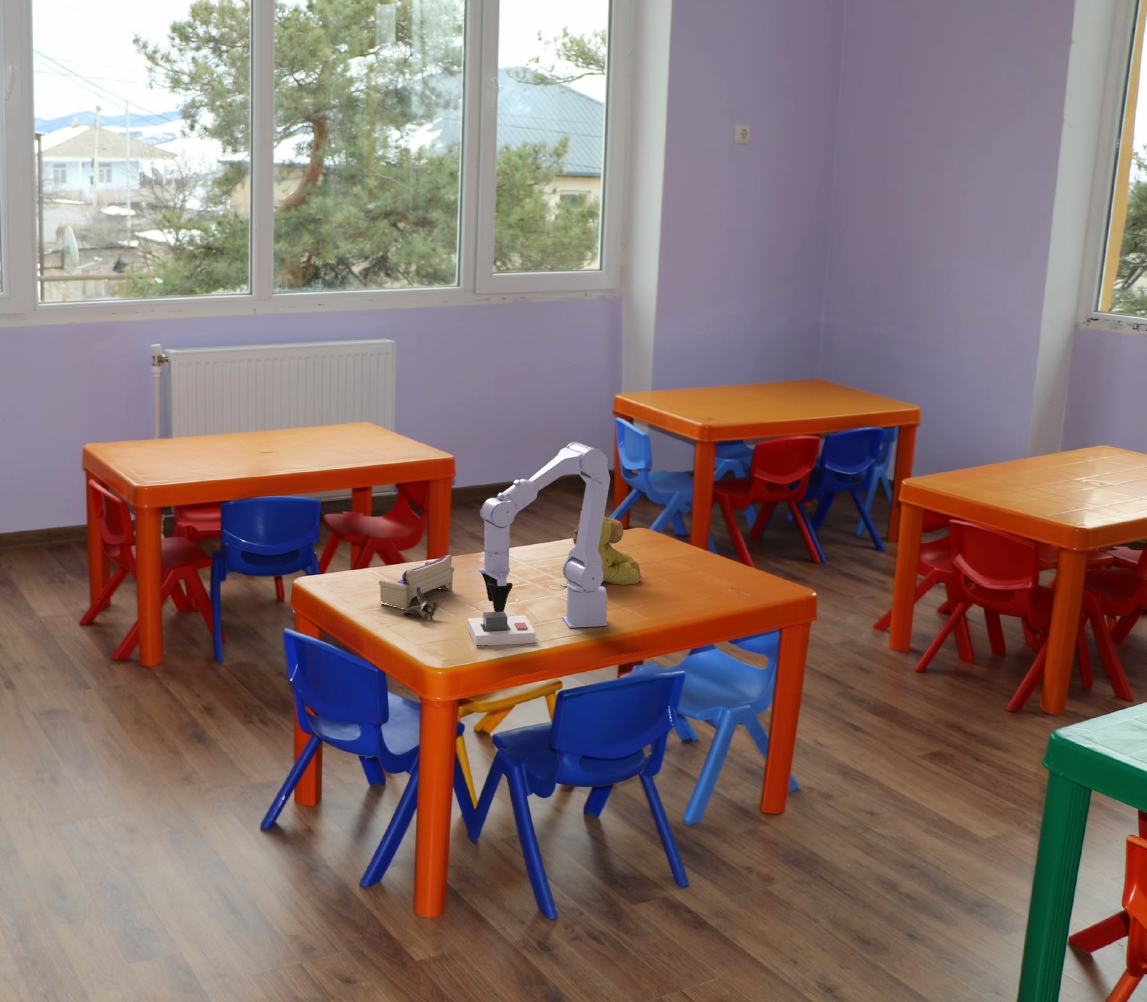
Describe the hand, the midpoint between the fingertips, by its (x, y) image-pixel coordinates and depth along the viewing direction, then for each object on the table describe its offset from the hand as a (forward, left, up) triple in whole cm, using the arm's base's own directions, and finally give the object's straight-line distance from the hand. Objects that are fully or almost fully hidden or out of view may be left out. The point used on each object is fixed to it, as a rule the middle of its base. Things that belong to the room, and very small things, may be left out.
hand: (496, 606), depth 297 cm
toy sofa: (+15, -32, -8) cm, 36 cm away
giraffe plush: (-36, -40, -8) cm, 55 cm away
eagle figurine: (+15, -18, -8) cm, 25 cm away
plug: (0, 0, -7) cm, 7 cm away
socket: (-1, -1, -8) cm, 8 cm away
